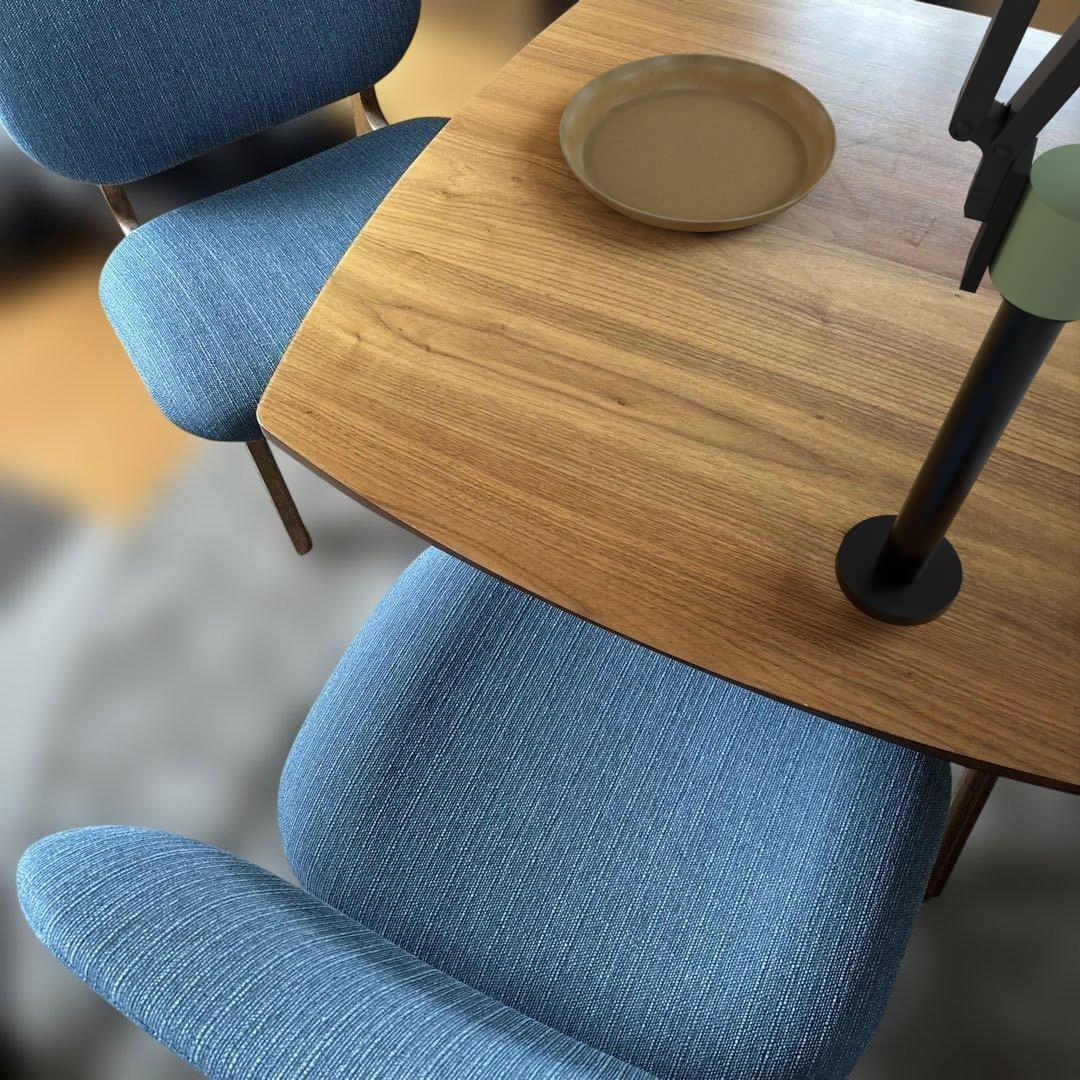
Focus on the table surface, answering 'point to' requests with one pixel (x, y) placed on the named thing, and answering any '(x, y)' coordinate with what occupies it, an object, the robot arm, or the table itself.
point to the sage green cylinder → (1044, 240)
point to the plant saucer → (697, 141)
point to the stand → (944, 482)
